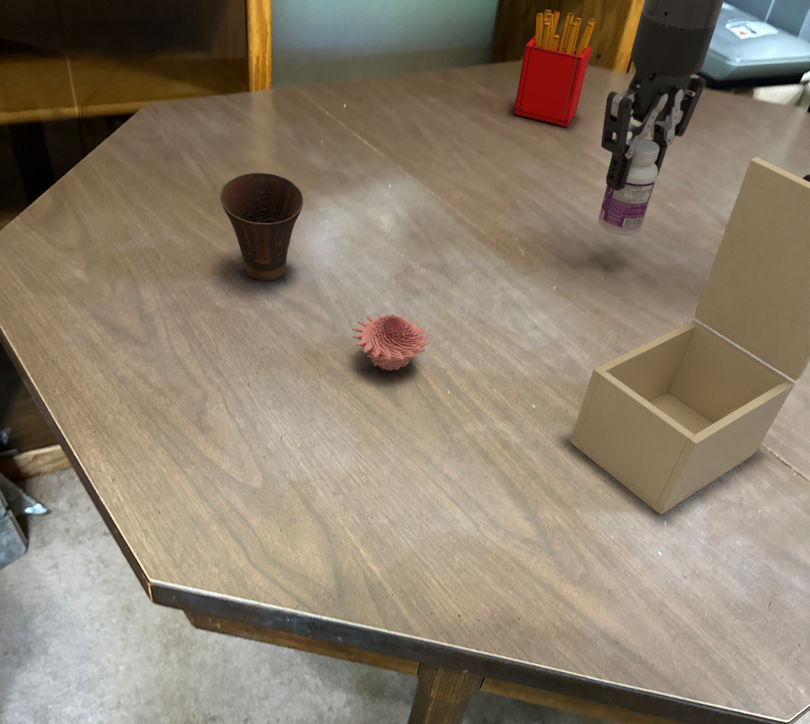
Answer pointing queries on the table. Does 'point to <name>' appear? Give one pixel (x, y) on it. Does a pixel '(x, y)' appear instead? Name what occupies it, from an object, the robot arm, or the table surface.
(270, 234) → the cup
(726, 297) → the box lid
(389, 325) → the flower
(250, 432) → the table surface
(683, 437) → the tan wooden box
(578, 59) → the french fries container
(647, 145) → the pill bottle
